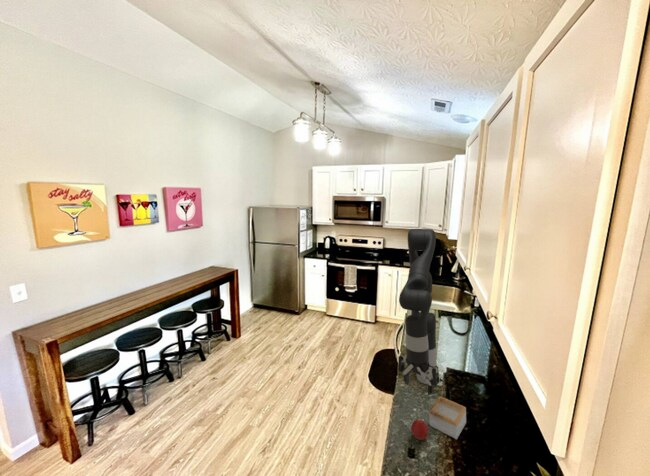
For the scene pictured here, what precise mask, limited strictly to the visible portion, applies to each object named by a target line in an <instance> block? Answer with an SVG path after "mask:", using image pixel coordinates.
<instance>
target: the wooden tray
mask: <svg viewBox="0 0 650 476" xmlns="http://www.w3.org/2000/svg"><path fill="white" fill-rule="evenodd" d="M428 415H429V416H428V417H429V423H428V424H429V426H430V427H432V428H434V429H436V430H437V431H439V432H441V433H443V434H446V435H447V436H449V437H451V438H453V439H455V440H458V438H459V436H460V434H461V433H462V431H463V429H464V427H465V426H466V425H467V407H466V406H464V405H462V404H459V403H457V402H455V401H453V400H450V399H448V398H446V397H443V396H442V395H439V396H438V398H437V399H436V400H435V402H434V403H433V404H432V406H430V408H429V410H428Z"/></svg>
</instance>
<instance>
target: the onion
mask: <svg viewBox="0 0 650 476" xmlns="http://www.w3.org/2000/svg"><path fill="white" fill-rule="evenodd" d="M410 431H411V433H412V435H413V436H414V437H415V438H416V439H418V440H421V441H424V440H426V438H427V437H428V435H429V428H428V425H427V423H426V422H425V421H423V420H422V419H421V418H418V419H415V420H414V421H413V422H412V423H411V429H410Z"/></svg>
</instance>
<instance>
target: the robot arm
mask: <svg viewBox="0 0 650 476" xmlns="http://www.w3.org/2000/svg"><path fill="white" fill-rule="evenodd" d="M436 236H437V235H436V232H435V230H434V229H433V228H432V229H431V228H414V229H413V228H411V229H409V230H408V233H407V246H408V247H407V248H408V257H409V269H408V276H407V281H406V283H405V284H404V286H403V288H402V289H401V291H400V293H399V298H398V302H399V305H400V307H401V308H402V309H403V310H407V311H411V314H409V315H407V316H406V318H405V353H401V354H400V355H398V358H397V359H398V360H397V361H398V362H397V363H398V364H397V367H398V369H397V371H398V372H401V373H402V375H403V382H404V385H406V386H408V385H409V384H410V382H411V379H410V371H411V372H412V373H414V374H416V379H417V381H418V382H419V383H422V384H424V385H427V395H428V396H431V395H432V394H434V392H435V387H437V386H438V384H439V383H440V371H439V366H438V365H437V343H436V341H437V339H436V335H437V334H436V332H437V331H436V330H437V319H436V315H435V313H433V312H430V311H431V306H432V305H433V304H432V302H433V298H432V291H433V277H432V274H431V272H430V267H431V263H432V260H433V258H434V252H435V250H436V249H435V248H436V242H437V241H436V240H437V237H436ZM418 251H419V252H421V251H422V254H420V255H419V254H418ZM405 362H406V365H407V367H405Z"/></svg>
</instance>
